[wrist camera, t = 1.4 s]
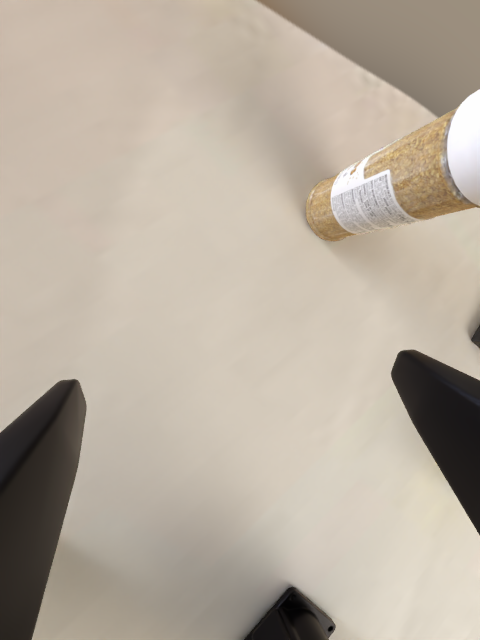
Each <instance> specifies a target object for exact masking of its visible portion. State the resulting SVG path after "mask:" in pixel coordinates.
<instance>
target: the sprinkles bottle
mask: <svg viewBox="0 0 480 640" xmlns="http://www.w3.org/2000/svg"><path fill="white" fill-rule="evenodd" d="M474 207H478V208H480V89H479V90H478V91H476V92H475V93H473V94H472V95H470V96H469V97H468V98H467V99H466V100H465V101H464V102H463V103H461V105H459V107H458V108H457V109H455V110H453V111H451V112H449V113H447V114H445V115H444V116H442V117H440V118H438V119H436V120H435V121H433V122H431V123H429V124H427V125H425V126H424V127H422V128H420V129H418V130H417V131H415V132H412V133H411V134H409V135H407V136H405V137H402V138H400V139H398V140H396V141H394V142H392V143H391V144H389V145H387V146H385V147H383V148H382V149H380V150H378V151H376V152H375V153H373V154H371V155H369V156H367V157H365V158H364V159H362V160H360V161H358V162H357V163H355V164H353V165H351V166H349V167H348V168H346V169H345V170H343V171H342V172H341V173H339V174H337V175H336V176H334V177H332V178H330V179H325V180H323V181H321V182H320V183H318V184H317V185H316V186H315V187H314V188H313V189H312V191H311V192H310V194H309V197H308V199H307V204H306V215H307V221H308V223H309V225H310V227H311V229H312V230H313V231H314V233H315V234H316V235H317V236H319V237H320V238H321V239H324V240H328V241H338V240H342V239H344V238H346V237H347V236H351V235H356V234H366V233H370V232H375V231H379V230H384V229H388V228H393V227H398V226H402V225H406V224H411V223H415V222H419V221H424V220H428V219H432V218H434V217H436V216H440V215H445V214H448V213H453V212H457V211H461V210H465V209H470V208H474Z"/></svg>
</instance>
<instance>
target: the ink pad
mask: <svg viewBox="0 0 480 640" xmlns="http://www.w3.org/2000/svg"><path fill="white" fill-rule="evenodd" d="M472 341H473V342H474V343H475V344H476V345H477V346H478V347H479V348H480V326H479V328H478V329H477V331H476V333H475V335H474V336H473V338H472Z"/></svg>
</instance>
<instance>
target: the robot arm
mask: <svg viewBox="0 0 480 640" xmlns="http://www.w3.org/2000/svg"><path fill="white" fill-rule="evenodd" d="M391 376H392V380H393V382H394V384H395V386H396V388H397V391H398V393H399V395H400V397H401V399H402V401H403V403H404V405H405V408H406V410H407V412H408V414H409V416H410V418H411V420H412V422H413V424H414V426H415V428H416V429H417V431H418V433H419V434H420V436H421V438H422V440H423V441H424V443H425V445H426V446H427V448H428V450H429V451H430V453H431V455H432V456H433V458H434V460H435V461H436V463H437V465H438V466H439V468H440V470H441V471H442V473H443V475H444V476H445V478H446V480H447V481H448V483H449V485H450V486H451V488H452V490H453V491H454V493H455V495H456V496H457V498H458V500H459V501H460V503H461V505H462V506H463V508H464V510H465V511H466V513H467V515H468V516H469V518H470V520H471V522H472V523H473V525H474V527H475V528H476V530H477V532H478V533H479V535H480V381H479V380H477V379H475V378H473V377H471V376H469V375H467V374H465V373H463V372H460V371H458V370H456V369H454V368H452V367H450V366H448V365H446V364H444V363H441V362H439V361H437V360H435V359H433V358H431V357H429V356H427V355H425V354H423V353H420V352H418V351H416V350H403V351H400V352H399V353H398V355H397V358H396V361H395V363H394V366H393V368H392V371H391ZM85 416H86V401H85V398H84V395H83V392H82V389H81V386H80V383H79V381H78V380H76V379H72V380H62V381H59V382H58V383H56V384H55V385H54V386H53V387H52V388H51V389H50V390H48V391H47V392H46V393H45V394H44V395H43V396H42V397H40V398H39V399H38V400H37V401H36V402H35V403H34V404H33V405H31V406H30V407H29V408H28V409H27V410H26V411H25V412H23V413H22V414H21V415H20V416H19V417H18V418H17V419H15V420H14V421H13V422H12V423H11V424H10V425H9V426H7V427H6V428H5V429H4V430H3V431H2V432H1V433H0V640H32V636H33V633H34V629H35V625H36V621H37V618H38V614H39V610H40V607H41V603H42V599H43V595H44V592H45V588H46V584H47V581H48V577H49V573H50V569H51V566H52V562H53V558H54V554H55V551H56V547H57V543H58V540H59V536H60V532H61V528H62V525H63V521H64V517H65V514H66V510H67V506H68V502H69V499H70V495H71V491H72V488H73V484H74V480H75V476H76V472H77V468H78V463H79V457H80V450H81V443H82V436H83V429H84V422H85ZM334 630H335V624H334V622H333V621H332V619H331V618H330V617H328V616H327V615H326V614H325V613H324V612H323V611H321V610H320V609H319V608H318V607H317V606H316V605H314V604H313V603H312V602H311V601H310V600H309V599H307V598H306V597H305V596H304V595H303V594H302V593H300V592H299V591H298V590H297V589H296V588H294V587H291V588H289V589H288V590H287V591H286V592H285V593H284V594H283V595H282V596H281V598H280V599H279V600H278V601H277V602H276V603H275V605H274V606H273V607H272V608H271V609H270V610H269V611H268V613H267V614H266V615H265V616H264V617H263V618H262V620H261V621H260V622H259V623H258V624H257V625H256V626H255V628H254V629H253V630H252V631H251V632H250V633H249V635H248V636H247V637H246V638H245V639H244V640H329V639H328V638H329V637H330V635H331V634H332V633H333V632H334Z"/></svg>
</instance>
